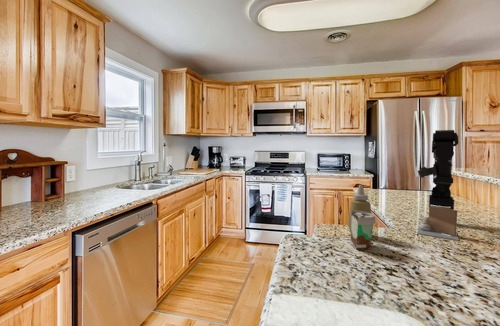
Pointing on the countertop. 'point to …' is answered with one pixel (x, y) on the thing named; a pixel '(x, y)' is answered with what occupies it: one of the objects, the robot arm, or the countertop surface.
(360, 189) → the squeeze bottle
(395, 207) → the countertop surface
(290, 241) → the countertop surface
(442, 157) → the robot arm
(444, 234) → the slate base
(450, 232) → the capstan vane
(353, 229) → the food container
